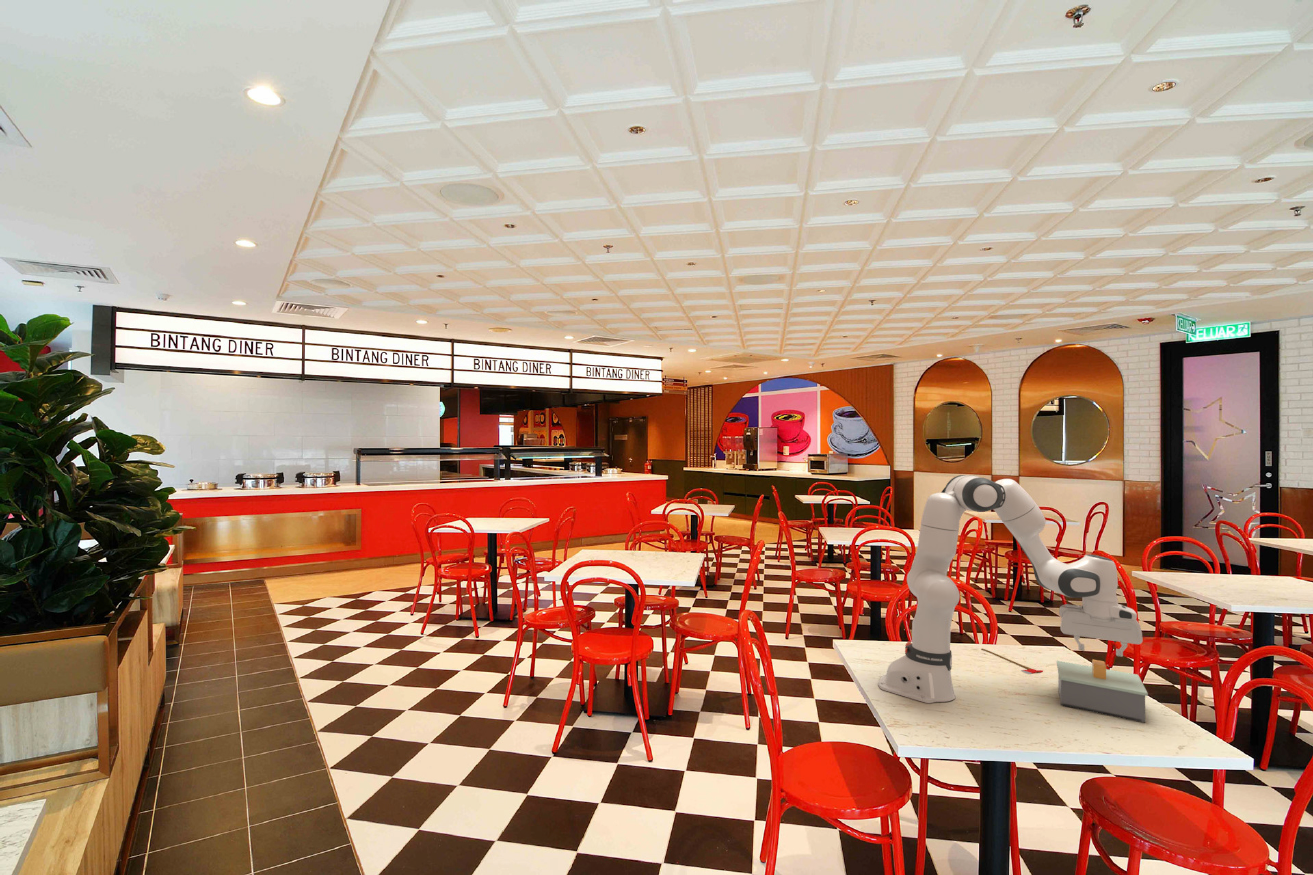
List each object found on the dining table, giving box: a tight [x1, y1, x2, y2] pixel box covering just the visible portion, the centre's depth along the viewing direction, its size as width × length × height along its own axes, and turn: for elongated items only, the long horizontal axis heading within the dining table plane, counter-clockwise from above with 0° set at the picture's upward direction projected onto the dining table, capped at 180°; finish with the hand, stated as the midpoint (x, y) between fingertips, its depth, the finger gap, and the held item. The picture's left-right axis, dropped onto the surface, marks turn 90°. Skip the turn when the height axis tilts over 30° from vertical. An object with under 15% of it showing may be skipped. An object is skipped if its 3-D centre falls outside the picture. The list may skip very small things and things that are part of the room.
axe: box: [980, 648, 1044, 675], centre depth 219 cm, size 26×1×10 cm
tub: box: [1057, 674, 1146, 724], centre depth 182 cm, size 20×16×8 cm
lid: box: [1056, 659, 1149, 697], centre depth 182 cm, size 21×17×6 cm
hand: (1100, 652), depth 182 cm, fingers open, 8 cm apart
